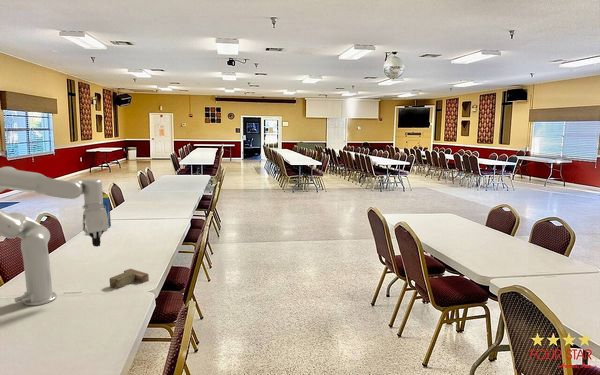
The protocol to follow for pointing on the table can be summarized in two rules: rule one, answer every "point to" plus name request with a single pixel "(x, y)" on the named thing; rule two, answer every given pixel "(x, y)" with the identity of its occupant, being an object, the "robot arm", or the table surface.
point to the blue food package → (107, 207)
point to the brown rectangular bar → (139, 275)
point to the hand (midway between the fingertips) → (96, 245)
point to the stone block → (122, 279)
